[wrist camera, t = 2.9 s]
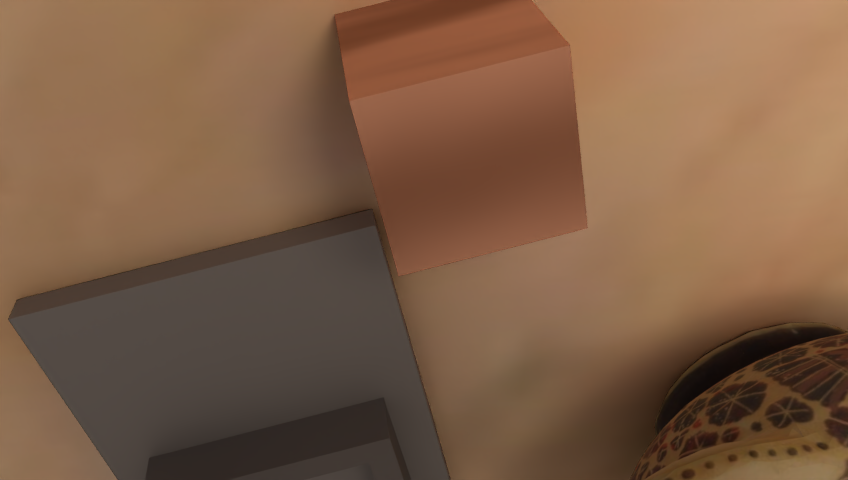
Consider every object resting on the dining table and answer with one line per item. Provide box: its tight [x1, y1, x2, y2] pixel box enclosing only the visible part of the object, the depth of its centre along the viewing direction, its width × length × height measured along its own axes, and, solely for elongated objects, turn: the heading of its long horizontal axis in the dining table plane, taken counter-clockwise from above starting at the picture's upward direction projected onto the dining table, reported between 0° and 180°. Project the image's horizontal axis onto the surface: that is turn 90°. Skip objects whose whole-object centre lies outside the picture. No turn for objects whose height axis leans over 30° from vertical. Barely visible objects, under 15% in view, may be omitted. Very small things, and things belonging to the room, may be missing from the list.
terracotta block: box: [335, 0, 588, 276], centre depth 21 cm, size 5×5×6 cm
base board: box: [8, 209, 451, 480], centre depth 30 cm, size 20×12×3 cm, turn 12°
